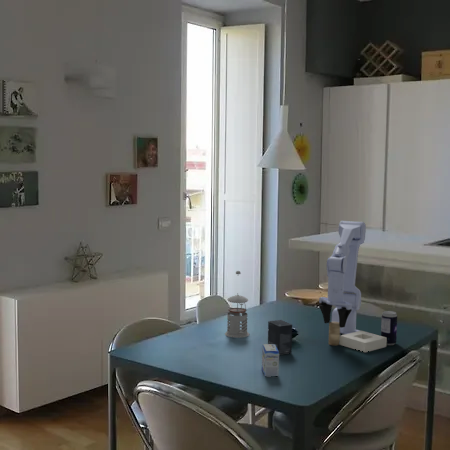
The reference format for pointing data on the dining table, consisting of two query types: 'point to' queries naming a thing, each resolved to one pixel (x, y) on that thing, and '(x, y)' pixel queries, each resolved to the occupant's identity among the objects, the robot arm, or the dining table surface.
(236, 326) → the french press
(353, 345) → the socket block
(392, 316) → the beverage can
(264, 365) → the medicine box
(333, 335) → the beech peg
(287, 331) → the box
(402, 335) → the dining table surface
